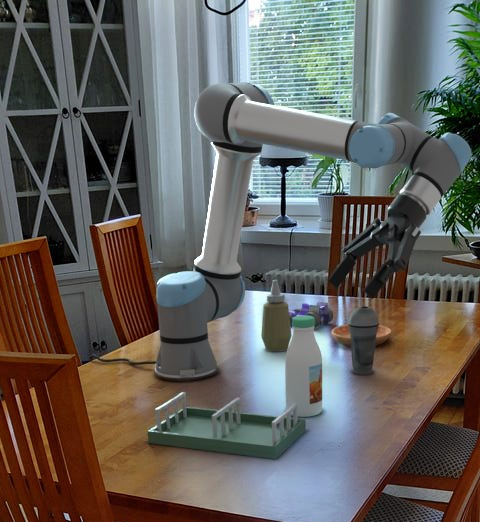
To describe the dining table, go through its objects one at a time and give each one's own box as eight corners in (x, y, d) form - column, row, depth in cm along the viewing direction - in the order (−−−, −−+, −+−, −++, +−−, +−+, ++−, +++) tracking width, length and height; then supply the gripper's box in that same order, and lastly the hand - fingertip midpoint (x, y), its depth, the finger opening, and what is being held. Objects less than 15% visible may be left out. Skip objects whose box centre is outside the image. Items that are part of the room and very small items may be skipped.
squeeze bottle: (297, 347, 232) (296, 278, 224) (282, 354, 226) (280, 284, 218) (271, 344, 236) (269, 276, 228) (255, 351, 230) (253, 282, 222)
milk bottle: (297, 420, 179) (296, 323, 171) (279, 410, 186) (277, 316, 177) (329, 413, 182) (329, 318, 174) (310, 403, 189) (309, 311, 180)
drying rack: (148, 443, 171) (145, 412, 168) (186, 417, 184) (183, 388, 181) (275, 459, 160) (274, 426, 157) (305, 431, 173) (305, 400, 170)
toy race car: (290, 318, 262) (290, 296, 260) (333, 323, 254) (333, 301, 252) (272, 325, 256) (272, 303, 253) (316, 330, 248) (316, 307, 245)
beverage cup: (376, 376, 205) (379, 290, 196) (345, 375, 206) (347, 290, 198) (378, 367, 211) (381, 284, 203) (348, 367, 213) (350, 284, 204)
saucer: (394, 347, 228) (395, 336, 226) (333, 349, 228) (334, 338, 227) (386, 332, 242) (387, 322, 241) (329, 335, 243) (329, 324, 241)
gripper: (462, 223, 168) (395, 311, 169) (388, 212, 189) (329, 291, 190) (441, 196, 164) (372, 287, 165) (368, 188, 185) (307, 269, 186)
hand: (349, 289), depth 177 cm, fingers open, 13 cm apart
